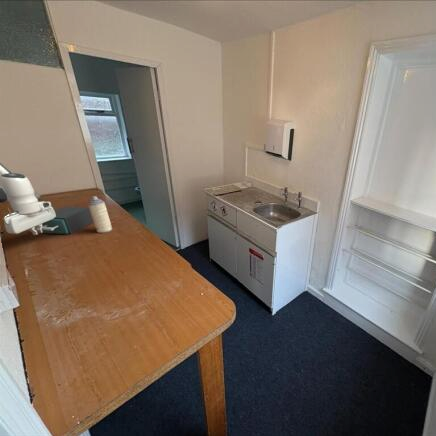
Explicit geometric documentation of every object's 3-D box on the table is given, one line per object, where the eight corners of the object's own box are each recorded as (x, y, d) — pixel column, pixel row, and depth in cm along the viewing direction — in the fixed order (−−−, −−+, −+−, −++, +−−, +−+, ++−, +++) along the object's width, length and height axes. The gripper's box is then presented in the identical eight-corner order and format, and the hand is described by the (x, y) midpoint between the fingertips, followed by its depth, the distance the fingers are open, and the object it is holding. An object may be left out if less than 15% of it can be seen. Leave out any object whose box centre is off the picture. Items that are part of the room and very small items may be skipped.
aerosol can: (108, 227, 135) (98, 194, 127) (115, 229, 132) (105, 196, 124) (94, 231, 129) (83, 197, 121) (101, 234, 126) (90, 199, 119)
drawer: (59, 237, 120) (54, 223, 117) (35, 236, 120) (29, 222, 117) (88, 222, 137) (84, 210, 134) (67, 221, 137) (63, 209, 134)
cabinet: (70, 234, 125) (64, 218, 121) (45, 233, 125) (38, 216, 121) (93, 222, 140) (88, 207, 136) (70, 221, 139) (65, 206, 136)
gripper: (9, 216, 100) (22, 244, 106) (53, 201, 119) (62, 225, 125) (-6, 215, 100) (8, 243, 106) (41, 200, 119) (50, 225, 125)
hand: (38, 233), depth 115 cm, fingers closed
